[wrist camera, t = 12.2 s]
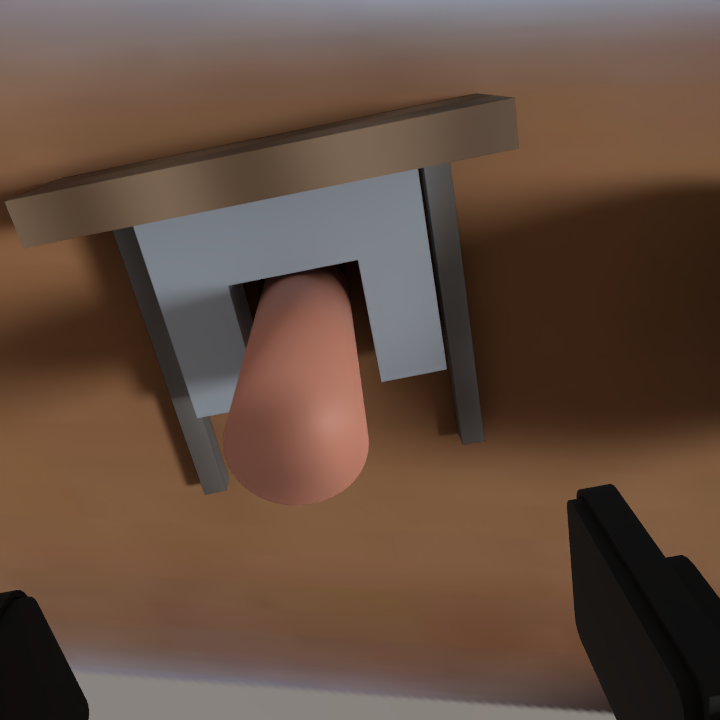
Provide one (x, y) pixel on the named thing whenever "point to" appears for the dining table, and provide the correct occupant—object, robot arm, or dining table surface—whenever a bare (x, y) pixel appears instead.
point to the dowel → (299, 393)
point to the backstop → (274, 179)
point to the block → (289, 255)
